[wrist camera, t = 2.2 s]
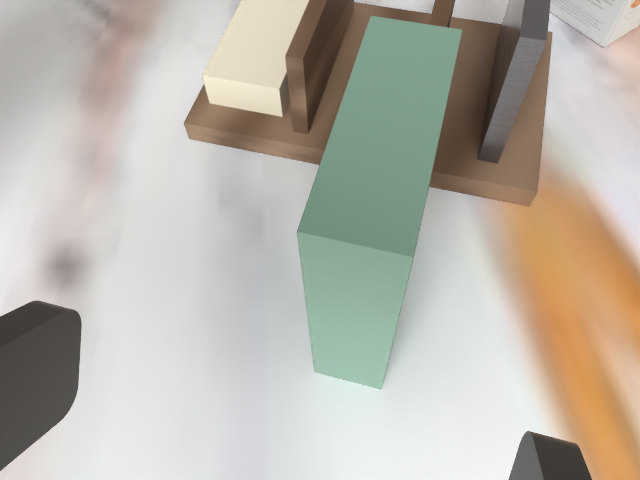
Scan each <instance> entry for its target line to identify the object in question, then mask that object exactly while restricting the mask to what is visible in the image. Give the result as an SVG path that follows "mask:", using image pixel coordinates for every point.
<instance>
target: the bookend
mask: <svg viewBox="0 0 640 480" xmlns="http://www.w3.org/2000/svg"><path fill="white" fill-rule="evenodd" d="M550 2H551V0H509V3H508V6H507V9H506V13H505V16H504V19H503V22H502V26H501V29H500V32H499V36H498V40H497V46H496V52H495V58H494V64H493V70H492V76H491V82H490V88H489V94H488V100H487V106H486V112H485V118H484V124H483V130H482V136H481V142H480V148H479V154H478V160H480V161H486V162H491V163H496V164H498V162H499V160H500V157H501V154H502V152H503V149H504V147H505V144H506V142H507V139H508V137H509V134H510V132H511V129H512V127H513V124H514V122H515V119H516V117H517V114H518V112H519V109H520V107H521V104H522V102H523V99H524V96H525V94H526V91H527V89H528V86H529V84H530V81H531V79H532V76H533V74H534V71H535V69H536V66H537V64H538V61H539V59H540V56H541V54H542V51H543V49H544V46H545V44H546V41H547V31H548V22H549V12H550Z"/></svg>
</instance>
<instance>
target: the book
mask: <svg viewBox="0 0 640 480" xmlns="http://www.w3.org/2000/svg"><path fill="white" fill-rule="evenodd" d="M461 34H462V30H461V29H455V28H448V27H442V26H435V25H429V24H422V23H416V22H409V21H402V20H396V19H389V18H383V17H376V16H371V17H370V20H369V23H368V25H367V28H366V31H365V34H364V37H363V40H362V43H361V46H360V49H359V52H358V55H357V58H356V61H355V64H354V66H353V69H352V72H351V75H350V78H349V81H348V84H347V87H346V90H345V93H344V96H343V99H342V102H341V104H340V107H339V110H338V113H337V116H336V119H335V122H334V125H333V128H332V131H331V134H330V137H329V140H328V143H327V145H326V148H325V151H324V154H323V157H322V160H321V163H320V166H319V169H318V172H317V175H316V178H315V181H314V183H313V186H312V189H311V192H310V195H309V198H308V201H307V204H306V207H305V210H304V213H303V216H302V219H301V221H300V224H299V227H298V230H297V235H298V243H299V251H300V259H301V267H302V275H303V283H304V291H305V299H306V307H307V315H308V322H309V330H310V338H311V346H312V354H313V362H314V370H315V372H317V373H320V374H324V375H328V376H332V377H336V378H340V379H343V380H347V381H351V382H355V383H359V384H363V385H366V386H370V387H374V388H378V389H382V385H383V381H384V377H385V373H386V368H387V364H388V360H389V356H390V352H391V348H392V344H393V340H394V336H395V331H396V327H397V323H398V319H399V315H400V311H401V307H402V303H403V298H404V294H405V290H406V286H407V282H408V278H409V274H410V270H411V266H412V261H413V257H414V253H415V248H416V243H417V239H418V234H419V229H420V225H421V220H422V215H423V211H424V206H425V201H426V197H427V192H428V187H429V183H430V178H431V173H432V169H433V164H434V160H435V155H436V150H437V146H438V141H439V136H440V132H441V127H442V122H443V118H444V113H445V108H446V104H447V99H448V94H449V90H450V85H451V80H452V76H453V71H454V66H455V62H456V57H457V52H458V48H459V43H460V38H461Z"/></svg>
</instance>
